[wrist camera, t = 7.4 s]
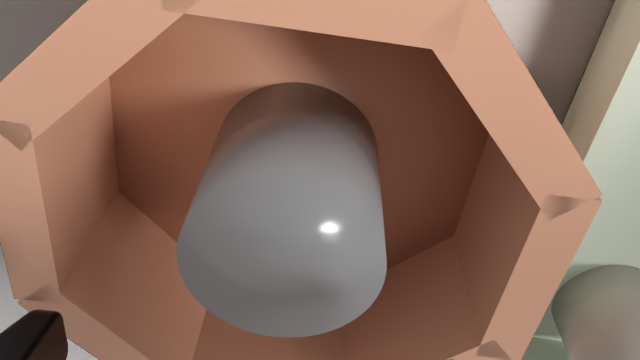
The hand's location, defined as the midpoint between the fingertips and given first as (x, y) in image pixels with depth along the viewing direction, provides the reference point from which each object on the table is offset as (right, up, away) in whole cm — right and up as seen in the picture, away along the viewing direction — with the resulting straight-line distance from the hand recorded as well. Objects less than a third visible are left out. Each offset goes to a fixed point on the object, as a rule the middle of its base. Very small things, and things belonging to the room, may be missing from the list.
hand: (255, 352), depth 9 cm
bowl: (0, +4, +5) cm, 7 cm away
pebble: (+9, -1, +8) cm, 12 cm away
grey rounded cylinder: (+1, +3, +5) cm, 6 cm away
